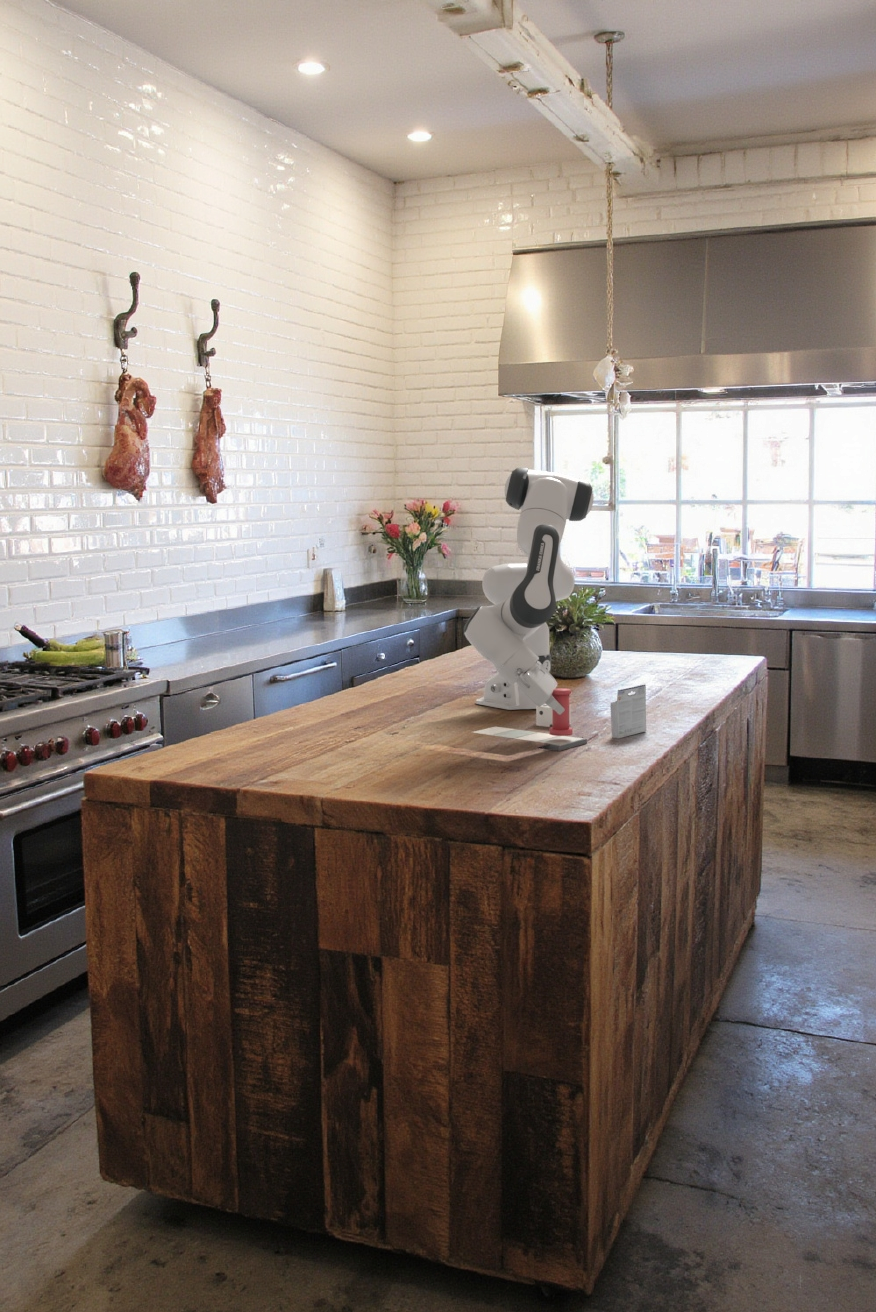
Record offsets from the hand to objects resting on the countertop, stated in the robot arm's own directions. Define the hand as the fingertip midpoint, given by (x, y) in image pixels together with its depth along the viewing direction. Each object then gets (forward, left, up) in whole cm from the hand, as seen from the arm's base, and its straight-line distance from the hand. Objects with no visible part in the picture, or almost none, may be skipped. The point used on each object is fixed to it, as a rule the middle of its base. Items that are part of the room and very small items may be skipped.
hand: (563, 710), depth 261 cm
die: (-13, +15, -8) cm, 21 cm away
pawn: (-1, 0, -5) cm, 5 cm away
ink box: (+5, +20, -8) cm, 22 cm away
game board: (-10, 0, -8) cm, 13 cm away
